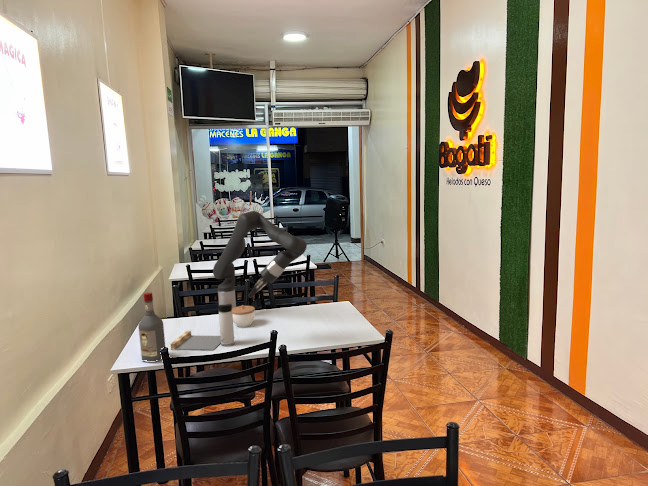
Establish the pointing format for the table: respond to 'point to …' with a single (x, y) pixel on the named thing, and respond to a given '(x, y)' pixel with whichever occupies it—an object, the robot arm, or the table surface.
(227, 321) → the travel mug
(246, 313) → the lidded bowl
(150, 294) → the liquor
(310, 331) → the table surface
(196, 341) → the mat
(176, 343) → the rail
